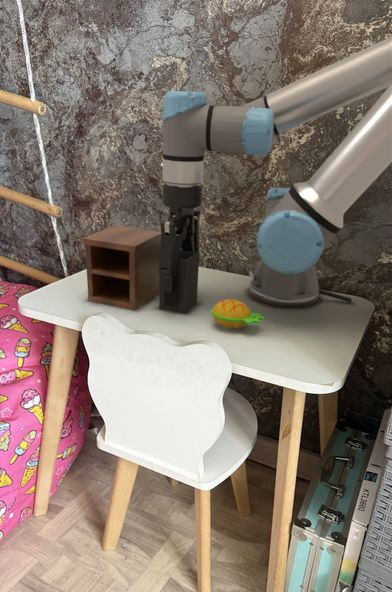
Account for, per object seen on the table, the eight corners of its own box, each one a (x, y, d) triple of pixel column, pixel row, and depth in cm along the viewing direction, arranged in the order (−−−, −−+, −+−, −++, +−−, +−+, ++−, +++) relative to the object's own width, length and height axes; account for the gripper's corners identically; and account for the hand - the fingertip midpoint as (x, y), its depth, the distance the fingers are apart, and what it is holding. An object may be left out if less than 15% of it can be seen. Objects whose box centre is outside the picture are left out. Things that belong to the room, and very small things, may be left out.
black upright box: (197, 303, 109) (199, 252, 104) (186, 313, 104) (187, 260, 99) (170, 299, 111) (171, 248, 106) (158, 308, 106) (159, 256, 101)
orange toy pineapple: (218, 316, 104) (220, 291, 101) (266, 326, 100) (269, 300, 98) (204, 329, 98) (206, 302, 96) (255, 340, 94) (257, 313, 92)
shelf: (162, 291, 115) (163, 232, 109) (135, 310, 105) (135, 246, 99) (116, 283, 119) (114, 225, 113) (86, 301, 108) (82, 238, 102)
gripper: (185, 175, 106) (181, 281, 117) (139, 189, 89) (139, 312, 100) (219, 178, 104) (213, 286, 114) (179, 194, 87) (175, 319, 97)
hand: (179, 298), depth 107 cm, fingers open, 7 cm apart
